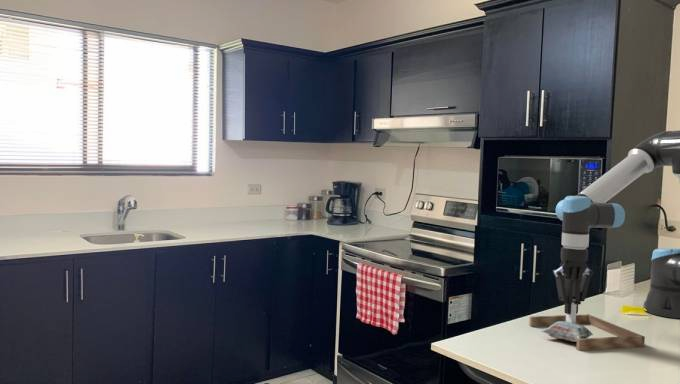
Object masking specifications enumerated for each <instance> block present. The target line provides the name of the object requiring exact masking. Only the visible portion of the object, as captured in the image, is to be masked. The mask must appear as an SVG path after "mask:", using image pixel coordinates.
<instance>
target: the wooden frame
mask: <svg viewBox="0 0 680 384" xmlns="http://www.w3.org/2000/svg"><path fill="white" fill-rule="evenodd" d="M558 321H565V322H566V314H562V315H539V316H538V315H537V316H535V315H534V316H529V321H528V324H529V325H528V326H529V327H533V328H534V327H546V326H547V327H549V326H551V325H552V324H554V323H556V322H558ZM575 324H578V325H581V324H589V325H591V326H593V327H595V328H597V329H599V330H602V331H604V332H606V333H609V334H610V335H614V336H608V337H588V338H583V339H577V342H576V350H577V351H593V350H596V351H597V350H609V349H611V350H613V349H626V348H627V349H629V348H643V347H645V341H646V339H645V338H646V337H645V336H644V335H642V334H639V333H637V332H634V331H631V330H629V329H626V328H624V327H622V326H619V325H616V324H614V323H611V322H609V321H607V320H604V319H602V318H599V317H596V316H593V315H590V314H588V313H586V314H584V313H583V314H576V323H575Z"/></svg>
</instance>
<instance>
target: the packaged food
mask: <svg viewBox="0 0 680 384" xmlns="http://www.w3.org/2000/svg"><path fill="white" fill-rule="evenodd" d="M540 332H541V333H545V334H547V336H549V337H551V338H554V339H558V340H561V341H565V342H572V343H574V342H576V343H577V339H583V338H590V337H591V336H594V333H592V332H591V331H590V329H588V328H587V327H585V326H584V325H581V324H574V323H571V322H565V321H558V322H556V323H554V324H552V325H551V326H547V328H545V329H542V330H541V331H540Z"/></svg>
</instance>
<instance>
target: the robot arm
mask: <svg viewBox="0 0 680 384" xmlns="http://www.w3.org/2000/svg"><path fill="white" fill-rule="evenodd" d="M666 166H667V167H671V171H672V175H674V176H675V177H677V178H678V181H679V184H680V130H665V131H662V132H658V133H656V134H654V135H651V136H649V137H647V138H646V139H645V140H643V141H642V142H640V143H639V144H637V145H636V146H634V147H633V148H632V149H630V150H629V151H628V154H627V156H626V157H625V158H624V159H623V160H621V161H620V162H618V163H617V164H616V165H614V166H613V167H612V168H610V170H607V171H606V172H605V173H604V174H603V175H602V176H600V177H599V178H598V179H596V180H595V181H593V182H592V183H591V184H589V185H588V186H587V187H586V188H585V189H583V190H582V191H581V192H579V193H578V194H576V195H567V196H566V197H564V199H562V200H560V201H559V202H557V205H555V206H556V207H555V214H556V217H557V218H558V219H559V220H560V221H562V227H561V245H562V246H561V248H560V260H561V263H560V264H559V268H557V269H553V270H552V274H553V275H554V277H555V283H556V289H557V295H558V300H559V301H561V302H564V310H563V311H564V314H565V315H566V322H571V323H574V324H575V323H576V315H578V312H579V306H580V305H582V302H585V300H586V298H587V297H586V296H587V293H588V289H589V285H590V281H591V278H592V276H593V275H594V274H595V271H594V270H592V269H590V268H589V267H588V264H587V261H588V259H589V250H588V248H589V247H590V246H589V242H590V229H592V228H602V229H604V228H607V229H612V228H613V229H614V228H619V227H621V226H622V225H623V224H624V222H625V218H626V211H625V209H624V208H623V206H622V205H620V204H618V203H612V202H608V201H610V200H611V199H612V198H613V197H615V196H616V195H618V194H619V193H620V192H621V191H623V190H624V189H625V188H626V187H628V186H629V185H630V184H631V183H633V182H634V181H635V180H637V179H638V178H640V177H641V176H642V175H643V174H648V173H649V174H650V173H651V172H652V171H653V170H655V169H657V168H661V167H666ZM650 262H651V263H650V285H649V290H648V293H647V295H646V299H645V301H643V308H645V309H646V310H647V311H648V312H649V313H648V312H647V313H648V314H652V315H655V316H660V317H665V318H672V319H680V248H655V249H654V250H653V251H652V256H651V259H650ZM643 308H642V309H643Z"/></svg>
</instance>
